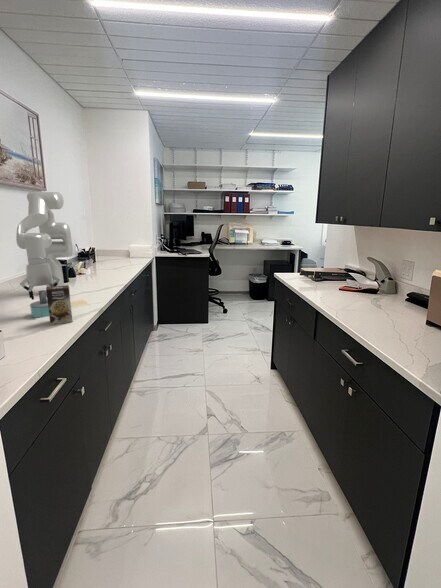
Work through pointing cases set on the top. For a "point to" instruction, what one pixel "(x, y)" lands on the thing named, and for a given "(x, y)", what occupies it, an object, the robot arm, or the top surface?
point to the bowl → (39, 312)
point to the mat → (78, 303)
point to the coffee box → (59, 304)
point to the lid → (42, 302)
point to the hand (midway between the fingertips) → (42, 297)
